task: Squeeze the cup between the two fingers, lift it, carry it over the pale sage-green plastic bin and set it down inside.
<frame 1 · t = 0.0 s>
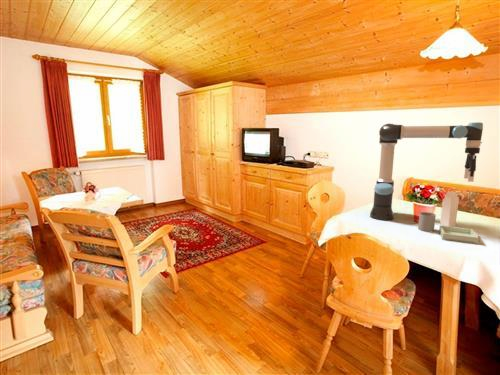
hand: (468, 180, 191), 28 cm above the table, fingers open, 13 cm apart
cup: (425, 230, 180), on the table
bin: (457, 237, 167), on the table
milk: (447, 225, 188), on the table
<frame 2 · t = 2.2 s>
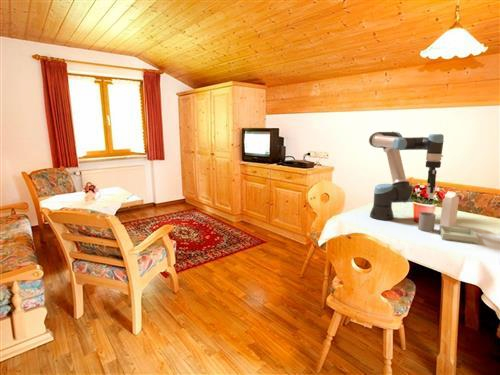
hand: (429, 196, 176), 21 cm above the table, fingers open, 13 cm apart
nothing on the table moved.
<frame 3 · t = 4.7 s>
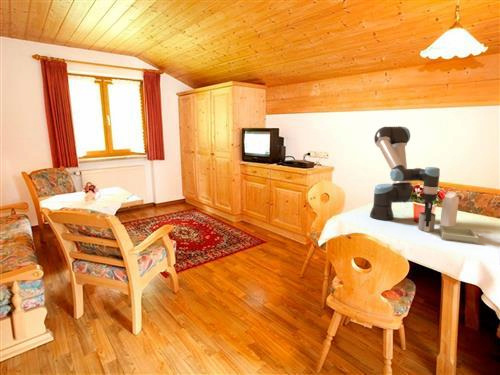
hand: (426, 229, 180), 0 cm above the table, fingers closed on cup, 8 cm apart
cup: (425, 230, 180), on the table, touching gripper
everything else where it was.
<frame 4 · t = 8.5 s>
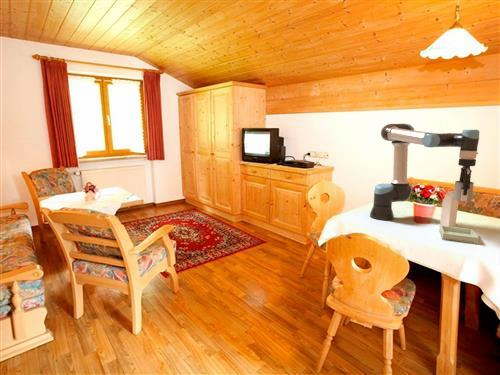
hand: (462, 199, 163), 22 cm above the table, fingers closed on cup, 8 cm apart
cup: (462, 200, 163), point 22 cm above the table, touching gripper
everything else where it was.
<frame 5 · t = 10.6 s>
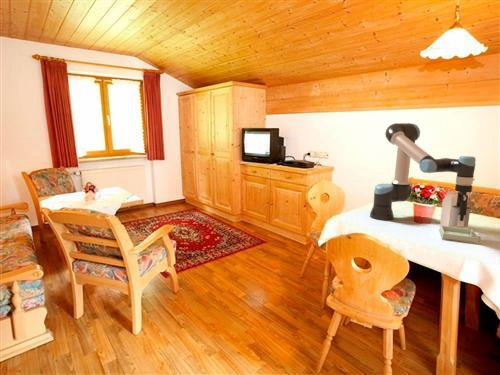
hand: (459, 223, 166), 8 cm above the table, fingers closed on cup, 8 cm apart
cup: (458, 224, 166), point 7 cm above the table, touching gripper
everything else where it was.
when the fingers open (4 cm above the table, at t = 12.4 s): cup drops 3 cm, resting on bin.
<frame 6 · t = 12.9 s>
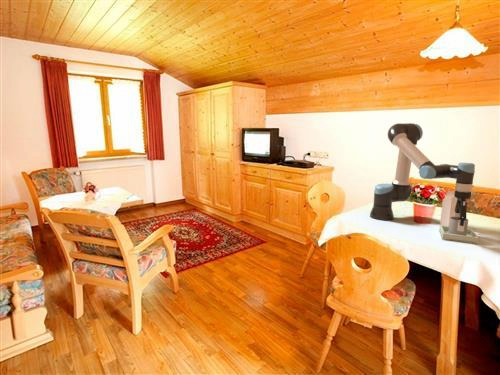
hand: (458, 227, 166), 6 cm above the table, fingers open, 13 cm apart
cup: (456, 236, 167), point 1 cm above the table, touching bin
everything else where it was.
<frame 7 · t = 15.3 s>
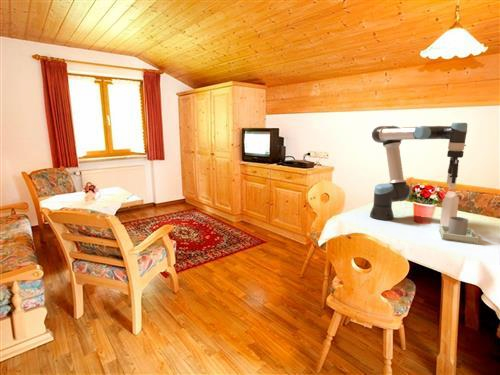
hand: (450, 186, 172), 27 cm above the table, fingers open, 13 cm apart
nothing on the table moved.
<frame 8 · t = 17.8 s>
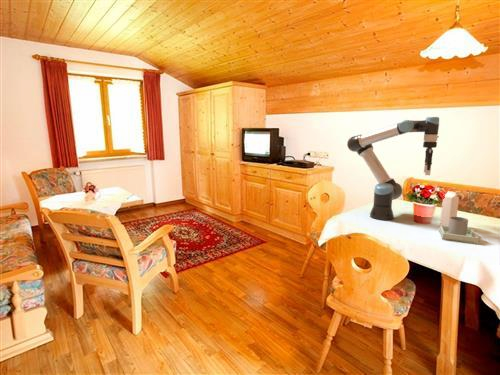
hand: (426, 173, 194), 32 cm above the table, fingers open, 13 cm apart
nothing on the table moved.
at the end: cup inside the target area on the bin (0.2 cm from its centre), point 0.6 cm above the bin's base; cup tilted 0°; the gripper is holding nothing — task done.
